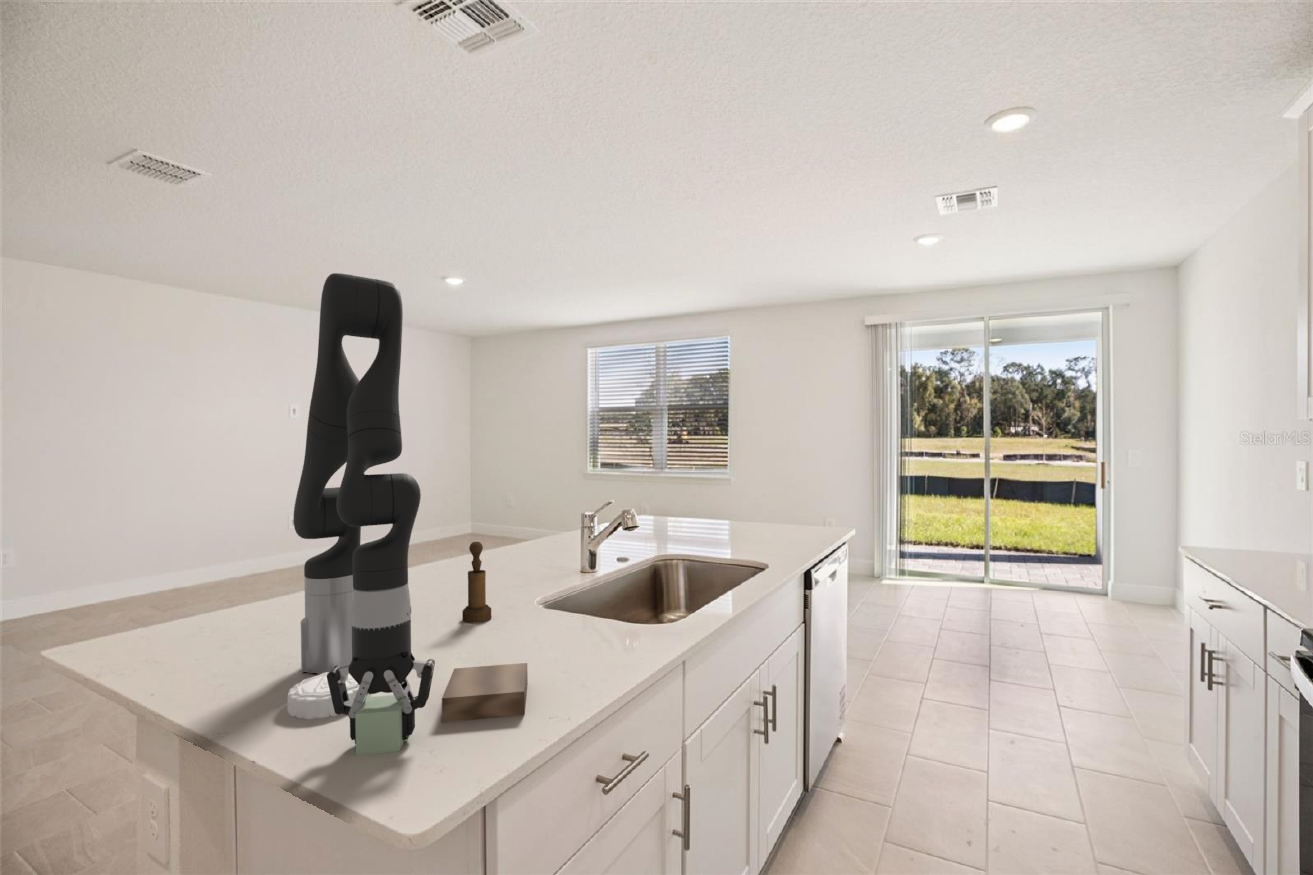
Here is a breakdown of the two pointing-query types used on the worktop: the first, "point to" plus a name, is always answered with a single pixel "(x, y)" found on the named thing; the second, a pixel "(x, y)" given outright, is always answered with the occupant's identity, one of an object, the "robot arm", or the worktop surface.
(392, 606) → the robot arm
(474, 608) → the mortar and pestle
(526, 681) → the walnut block
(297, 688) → the mooncake
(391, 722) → the sage block
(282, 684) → the worktop surface
